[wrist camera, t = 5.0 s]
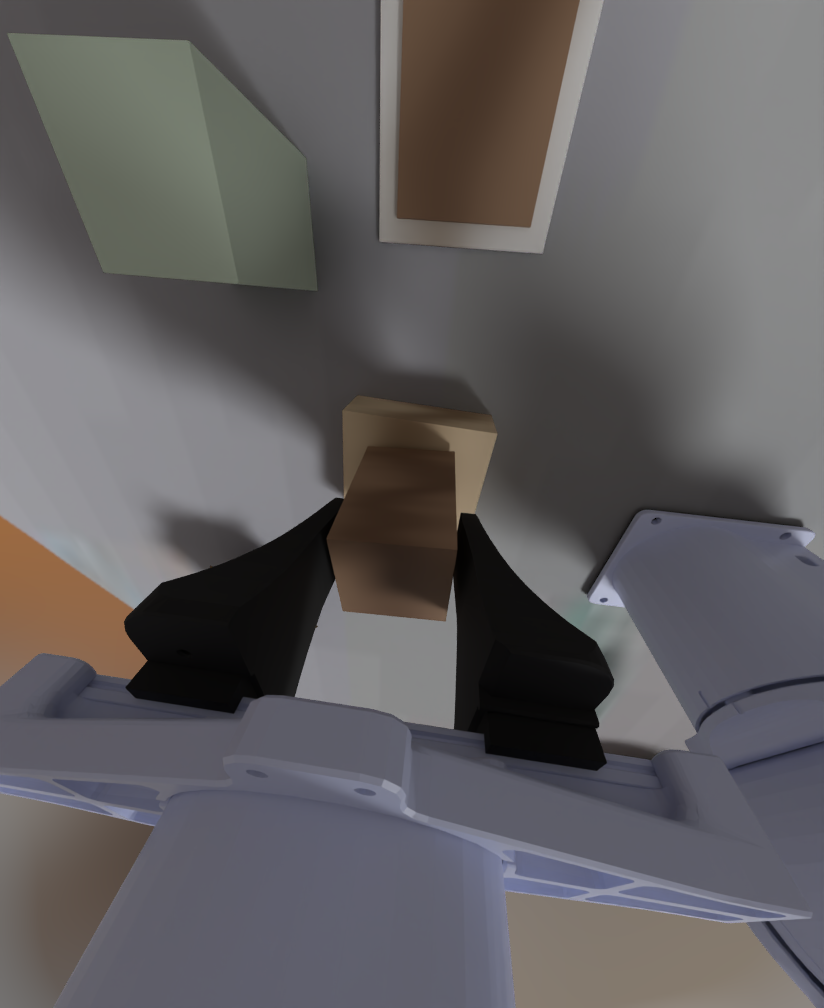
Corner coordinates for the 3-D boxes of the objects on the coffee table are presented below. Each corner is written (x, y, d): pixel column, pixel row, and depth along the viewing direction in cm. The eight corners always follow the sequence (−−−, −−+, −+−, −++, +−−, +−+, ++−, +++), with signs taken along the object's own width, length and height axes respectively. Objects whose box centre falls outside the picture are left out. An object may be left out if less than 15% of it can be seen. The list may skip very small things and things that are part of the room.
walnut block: (454, 451, 14) (457, 549, 9) (446, 517, 16) (445, 621, 11) (367, 445, 14) (326, 538, 9) (373, 512, 16) (342, 611, 12)
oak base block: (490, 413, 16) (497, 433, 13) (462, 518, 20) (463, 549, 17) (359, 393, 16) (342, 410, 13) (357, 501, 20) (344, 530, 17)
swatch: (614, -50, 8) (621, -65, 8) (541, 254, 12) (543, 252, 11) (382, -56, 8) (380, -70, 8) (380, 242, 12) (378, 240, 12)
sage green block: (306, 158, 11) (188, 40, 6) (317, 291, 13) (238, 283, 8) (202, 151, 11) (6, 32, 6) (230, 283, 13) (103, 272, 9)
